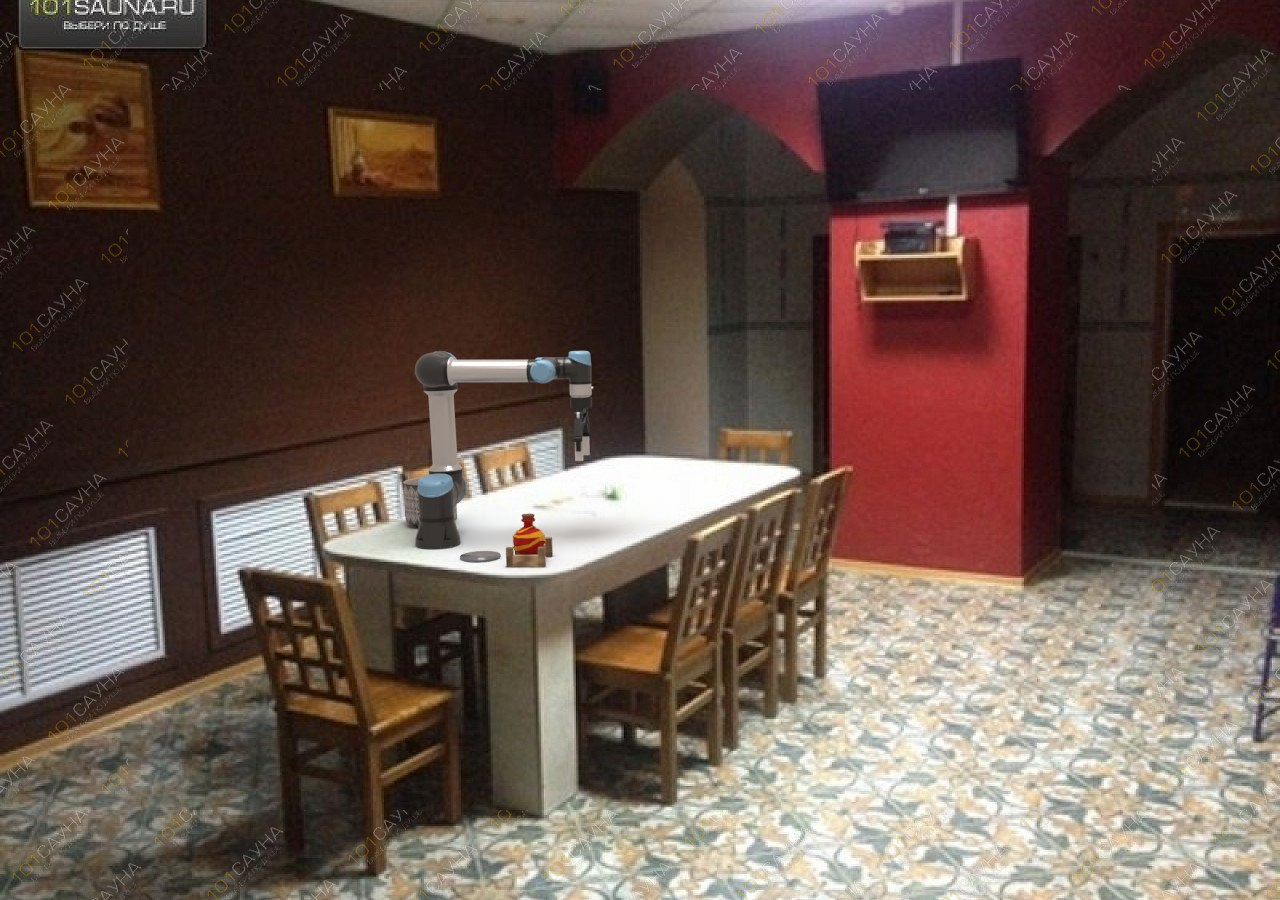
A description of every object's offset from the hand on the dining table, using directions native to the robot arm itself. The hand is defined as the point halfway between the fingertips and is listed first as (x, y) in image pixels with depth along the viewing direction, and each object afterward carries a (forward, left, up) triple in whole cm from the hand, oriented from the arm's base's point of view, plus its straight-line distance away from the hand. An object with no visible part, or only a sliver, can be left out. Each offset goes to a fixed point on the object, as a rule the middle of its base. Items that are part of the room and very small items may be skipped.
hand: (582, 458), depth 401 cm
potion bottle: (-13, -37, -28) cm, 48 cm away
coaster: (-30, -32, -28) cm, 52 cm away
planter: (-60, +22, -28) cm, 69 cm away
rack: (-13, -37, -28) cm, 48 cm away
